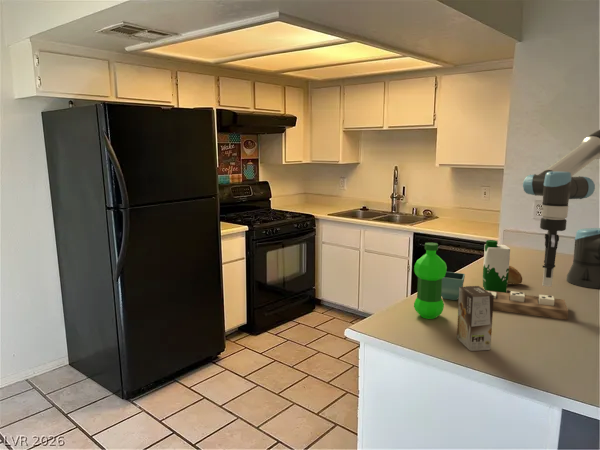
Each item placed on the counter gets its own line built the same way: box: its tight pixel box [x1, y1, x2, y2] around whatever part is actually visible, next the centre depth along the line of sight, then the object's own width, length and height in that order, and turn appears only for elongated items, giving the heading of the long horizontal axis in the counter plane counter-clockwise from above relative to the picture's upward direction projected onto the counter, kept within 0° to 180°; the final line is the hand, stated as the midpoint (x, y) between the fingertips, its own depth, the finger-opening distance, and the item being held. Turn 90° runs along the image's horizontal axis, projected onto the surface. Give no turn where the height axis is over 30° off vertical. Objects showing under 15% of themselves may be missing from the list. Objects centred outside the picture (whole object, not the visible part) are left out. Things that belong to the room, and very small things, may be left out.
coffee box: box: [456, 285, 494, 352], centre depth 125 cm, size 9×6×16 cm
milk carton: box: [482, 239, 511, 293], centre depth 172 cm, size 9×9×20 cm
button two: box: [538, 294, 555, 306], centre depth 150 cm, size 4×4×4 cm
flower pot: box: [441, 271, 466, 301], centre depth 164 cm, size 9×9×9 cm
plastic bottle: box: [413, 242, 448, 320], centre depth 145 cm, size 10×10×25 cm
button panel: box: [486, 290, 569, 320], centre depth 154 cm, size 30×12×3 cm, turn 64°
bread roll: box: [507, 265, 523, 285], centre depth 182 cm, size 10×15×8 cm, turn 59°
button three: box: [509, 290, 526, 302], centre depth 154 cm, size 4×4×4 cm
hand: (547, 285), depth 149 cm, fingers closed
